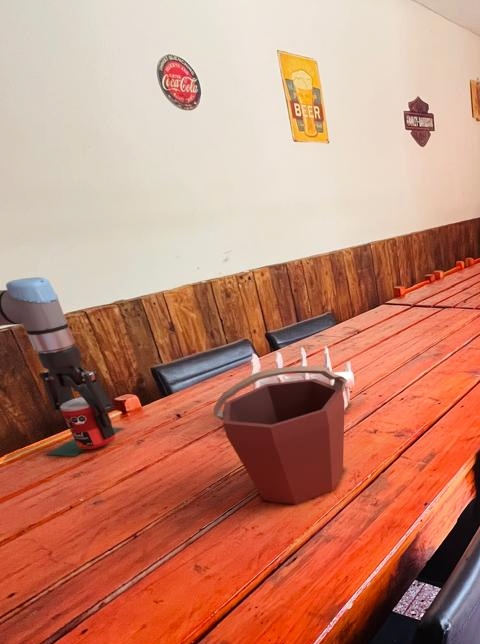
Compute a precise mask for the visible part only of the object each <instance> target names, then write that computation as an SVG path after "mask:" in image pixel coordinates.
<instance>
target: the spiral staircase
mask: <svg viewBox="0 0 480 644" xmlns="http://www.w3.org/2000/svg"><path fill="white" fill-rule="evenodd" d="M329 351H330V350H329V348H328V346H327V345H324V358H323V359H324V360H323V361H324V362H323V365H322V366H323V367H324V368H326V369H327V370H329V371H330V372H332V373H335V374H337V375H340V376H342V377H343V378H345V379H346V380H347V382H346V385H345V388H344V391H343V397H344V402H345V406H344V412H346V408H348V405H349V404H348V403H350V402H351V401H350V397H351V396H350V395H351V393H350V391H352V387H355V379H354V372H353V371H352V363H351V361H346V364H344V368H345V369H344V371H338V372H333V368H332V364H331V359H330V352H329ZM251 356H252V357H251V358H252V359H250V367H251V375H253V374H255V373H258V372H261V368H262V367H261V366H262V364H261V362H260V360H259V358H260V357H258V355H257V354H256V353H255V352H254V353H253V352H252V354H251ZM275 357H276V358H275V361H274V362H275V367H276V368H283V367H284V361H283V360H284V359H283V356H282V354H281V352H279V351H276V352H275ZM300 360H301V361H300V366H308V362H307V353H306V351H305V348H304V347H300ZM276 368H275V369H276ZM308 379H317V380H319V381H322V382H325V383H327V384H330V385H333V384H334V379H333V380H330V379H328V378H327V377H325V376H324V375H322V374H318V373H297V375H295V374H294V375H286V374H282V375H277V376H272V377H268V378H264V379H260V380H258V381H256V382H254V383H252V384H253V385H252V387H253V390H254V389H257V388H259V387H261V386H263V385H265V384H273V383H281V382H290V381H299V380H308Z"/></svg>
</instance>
